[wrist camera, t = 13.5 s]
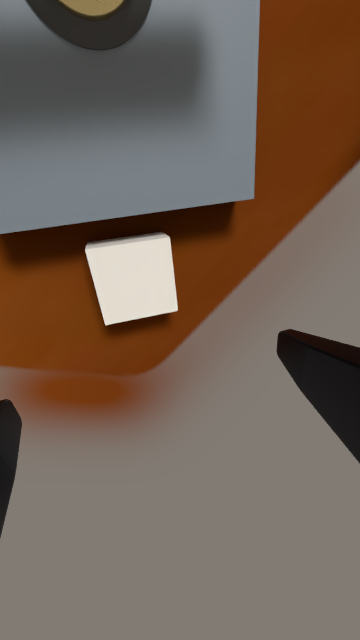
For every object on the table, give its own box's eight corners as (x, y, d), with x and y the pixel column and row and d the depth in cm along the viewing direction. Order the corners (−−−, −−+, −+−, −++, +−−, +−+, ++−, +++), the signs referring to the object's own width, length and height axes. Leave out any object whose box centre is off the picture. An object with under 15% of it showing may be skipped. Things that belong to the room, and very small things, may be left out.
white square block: (161, 230, 18) (169, 237, 16) (169, 297, 20) (177, 310, 18) (87, 241, 17) (85, 249, 15) (105, 309, 19) (105, 325, 17)
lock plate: (235, -96, 12) (265, -161, 10) (235, 197, 18) (254, 198, 16) (-149, -126, 9) (-230, -226, 7) (0, 229, 15) (-18, 236, 13)
